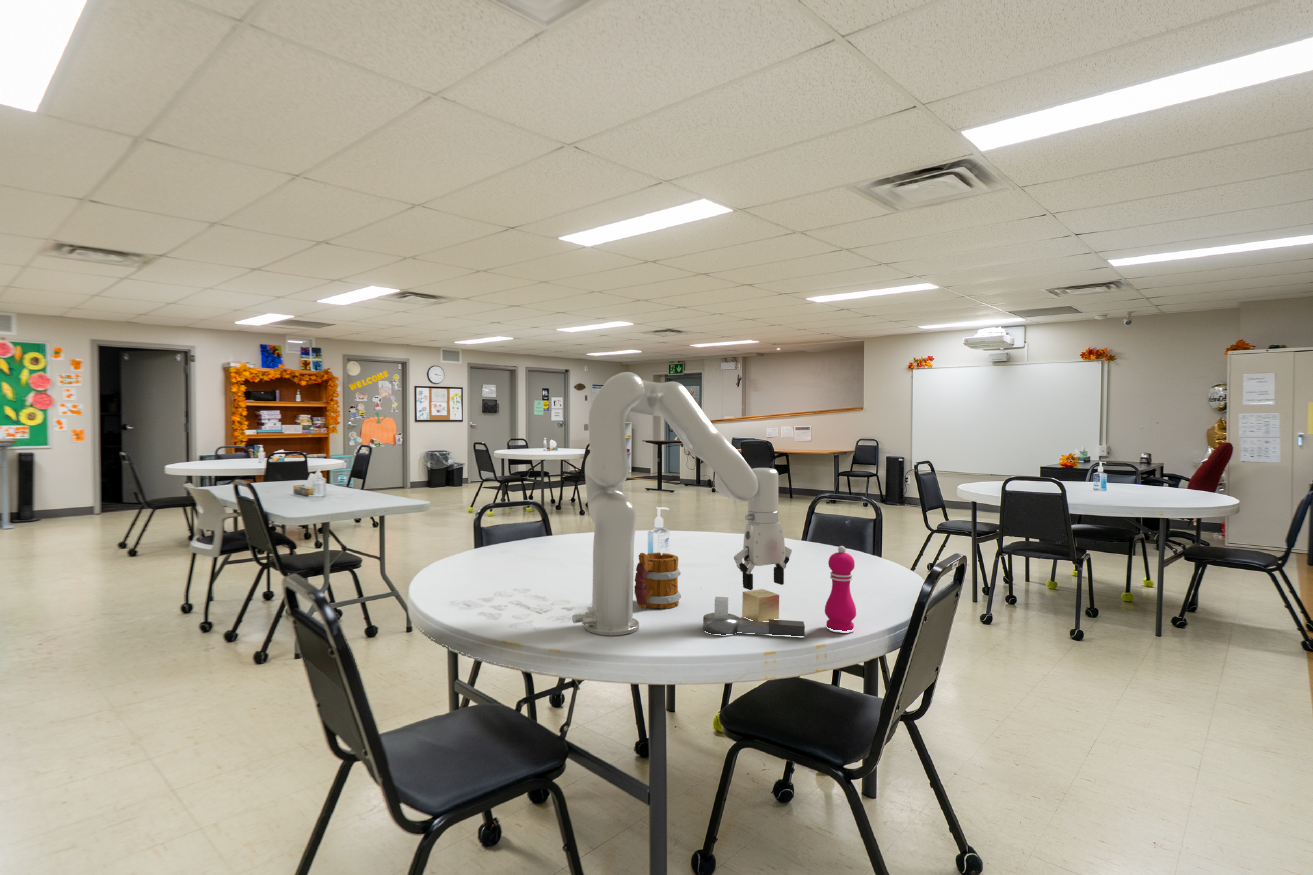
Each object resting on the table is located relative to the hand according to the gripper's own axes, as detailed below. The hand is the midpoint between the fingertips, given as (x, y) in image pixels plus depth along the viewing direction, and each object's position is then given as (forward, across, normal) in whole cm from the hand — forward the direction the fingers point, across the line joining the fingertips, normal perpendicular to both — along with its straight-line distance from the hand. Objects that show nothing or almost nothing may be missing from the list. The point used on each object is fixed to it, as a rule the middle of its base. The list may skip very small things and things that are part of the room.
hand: (763, 586), depth 161 cm
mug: (+8, -19, +22) cm, 30 cm away
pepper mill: (+9, +11, -15) cm, 20 cm away
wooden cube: (+8, -1, 0) cm, 8 cm away
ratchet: (+8, -9, -7) cm, 14 cm away
